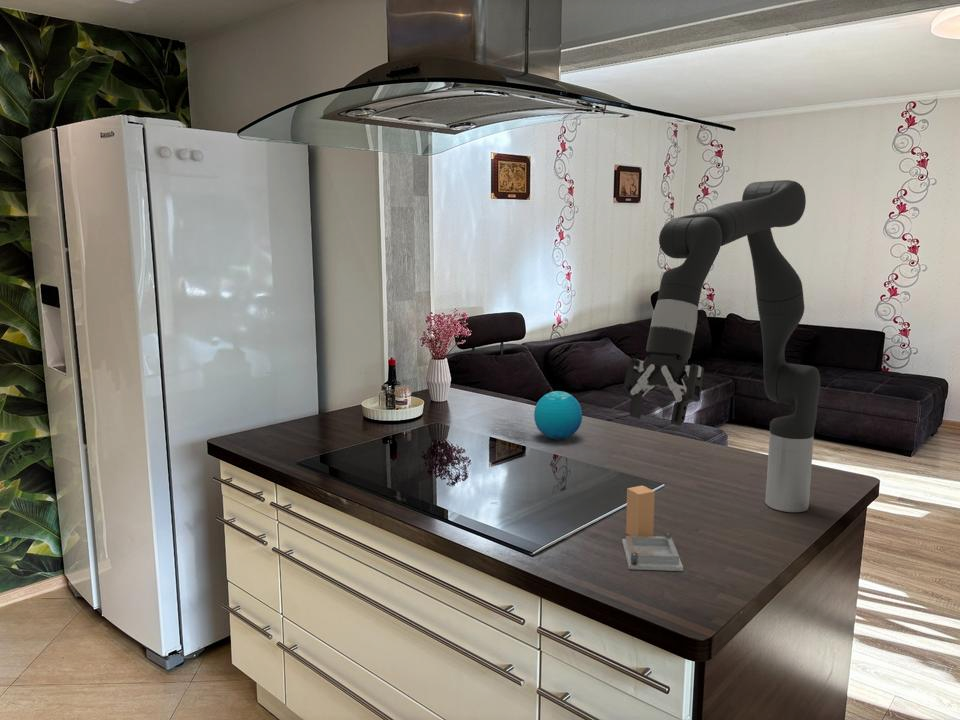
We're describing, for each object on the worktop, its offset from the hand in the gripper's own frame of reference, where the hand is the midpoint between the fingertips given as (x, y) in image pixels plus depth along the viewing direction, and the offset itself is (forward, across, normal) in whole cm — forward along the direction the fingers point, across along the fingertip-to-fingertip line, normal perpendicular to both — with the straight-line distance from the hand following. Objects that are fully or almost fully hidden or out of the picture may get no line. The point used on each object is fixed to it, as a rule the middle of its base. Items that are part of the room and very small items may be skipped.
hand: (654, 421), depth 121 cm
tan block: (+23, +16, -25) cm, 38 cm away
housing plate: (+26, +9, -19) cm, 33 cm away
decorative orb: (+9, +79, -62) cm, 101 cm away
